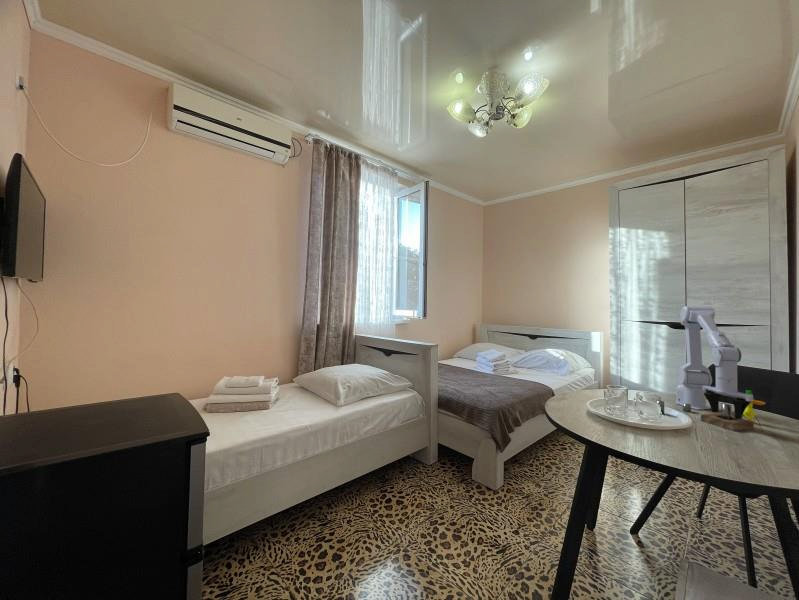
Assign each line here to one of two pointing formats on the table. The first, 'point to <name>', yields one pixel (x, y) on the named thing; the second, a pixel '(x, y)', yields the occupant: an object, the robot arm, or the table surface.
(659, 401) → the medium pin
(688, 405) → the short pin
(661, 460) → the table surface
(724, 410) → the long pin
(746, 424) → the hole block
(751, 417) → the toy figure
